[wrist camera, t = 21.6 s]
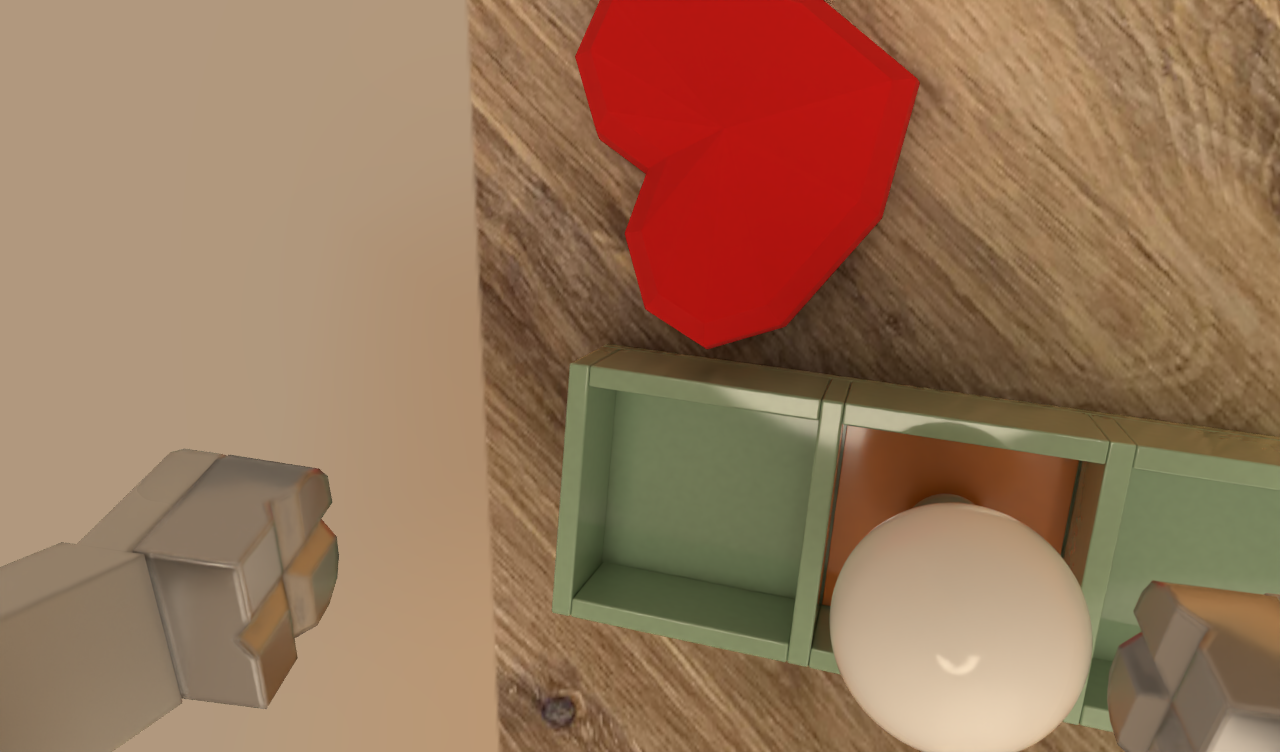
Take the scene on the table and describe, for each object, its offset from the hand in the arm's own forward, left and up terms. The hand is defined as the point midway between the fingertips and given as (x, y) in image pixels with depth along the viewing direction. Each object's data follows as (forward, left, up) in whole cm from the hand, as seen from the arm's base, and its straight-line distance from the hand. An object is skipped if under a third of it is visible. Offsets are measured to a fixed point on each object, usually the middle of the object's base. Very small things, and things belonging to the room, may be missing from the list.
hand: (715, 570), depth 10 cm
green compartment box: (+4, -7, -24) cm, 25 cm away
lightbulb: (+4, -7, -23) cm, 25 cm away
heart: (-3, +5, -24) cm, 25 cm away
